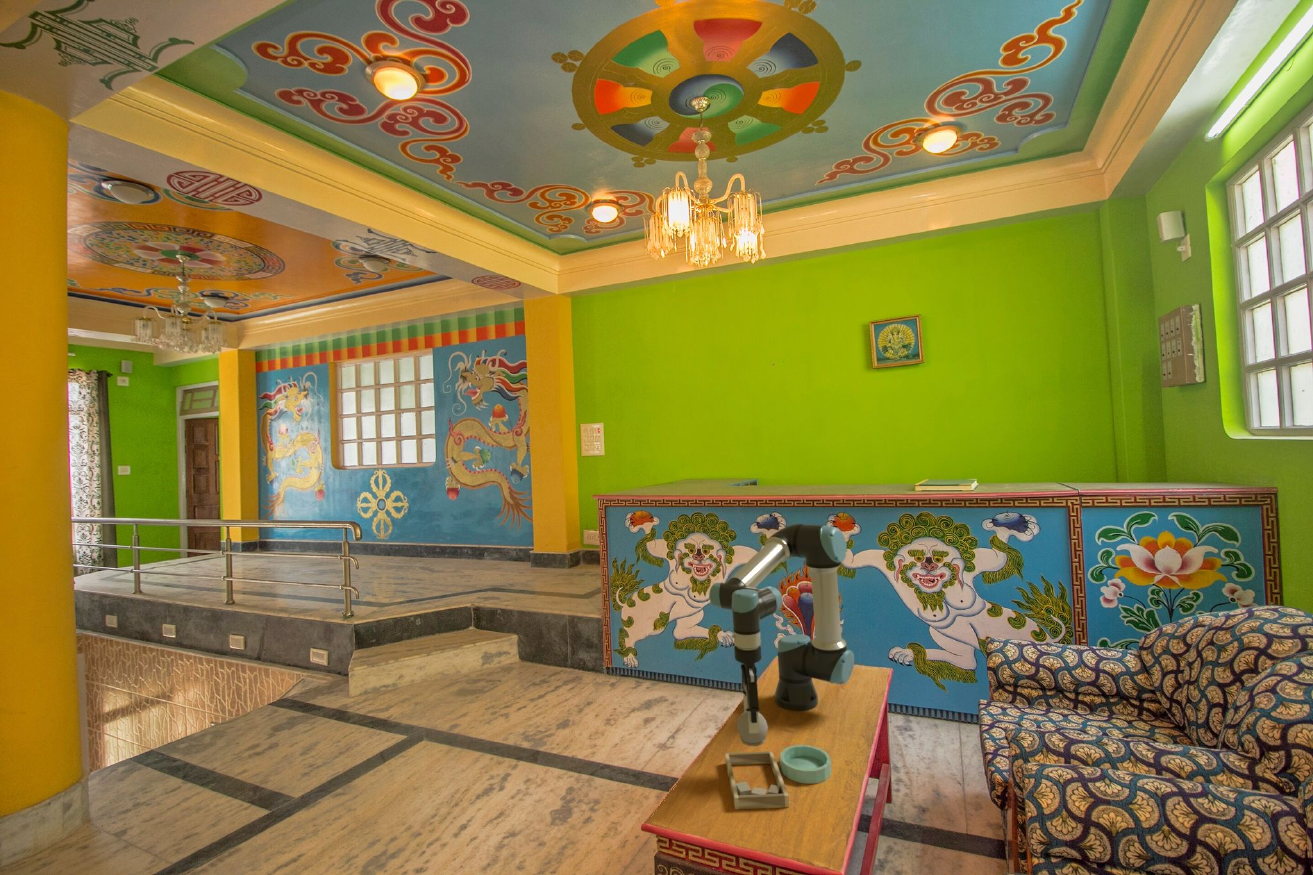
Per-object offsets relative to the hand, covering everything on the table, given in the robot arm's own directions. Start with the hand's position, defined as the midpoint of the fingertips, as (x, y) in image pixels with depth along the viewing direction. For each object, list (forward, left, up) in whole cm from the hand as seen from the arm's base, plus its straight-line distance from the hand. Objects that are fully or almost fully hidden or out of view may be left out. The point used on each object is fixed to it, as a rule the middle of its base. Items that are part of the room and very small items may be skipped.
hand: (751, 724), depth 172 cm
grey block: (+9, -4, -15) cm, 18 cm away
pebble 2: (+10, +4, -15) cm, 18 cm away
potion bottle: (0, 0, -5) cm, 5 cm away
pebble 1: (+11, 0, -15) cm, 18 cm away
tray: (+4, 0, -14) cm, 15 cm away
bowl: (-2, +15, -14) cm, 21 cm away
